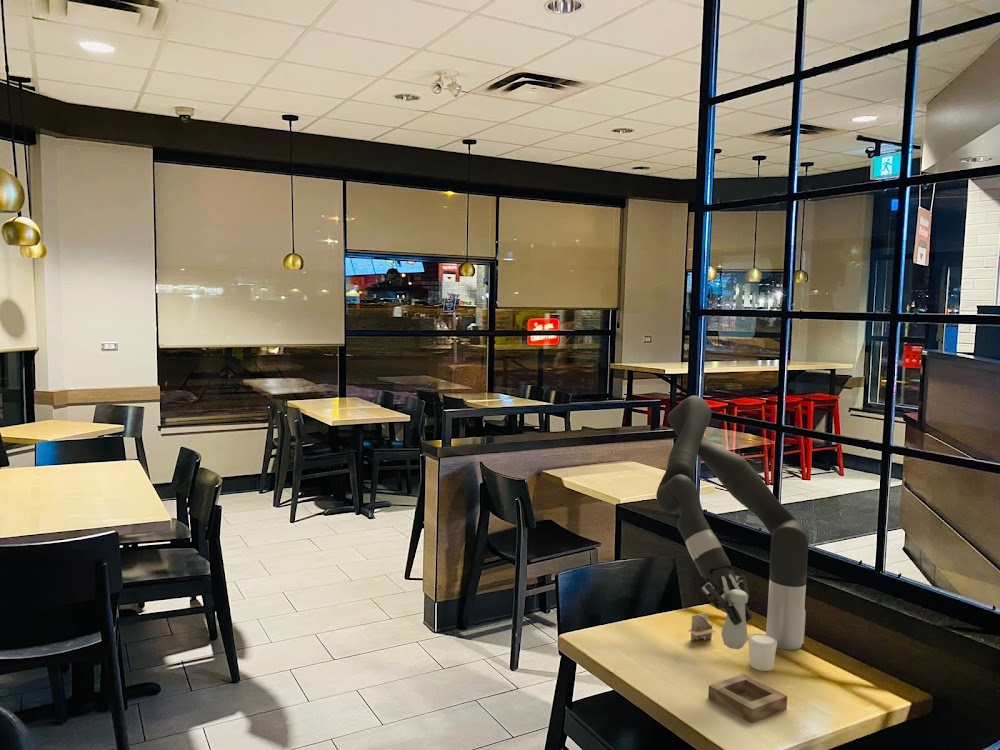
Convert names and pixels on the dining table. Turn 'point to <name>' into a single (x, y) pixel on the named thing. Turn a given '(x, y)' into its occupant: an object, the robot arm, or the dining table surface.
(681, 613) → the dining table surface
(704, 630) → the architectural model
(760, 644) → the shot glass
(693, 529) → the robot arm
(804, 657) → the dining table surface
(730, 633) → the salt shaker
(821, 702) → the dining table surface
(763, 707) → the socket
